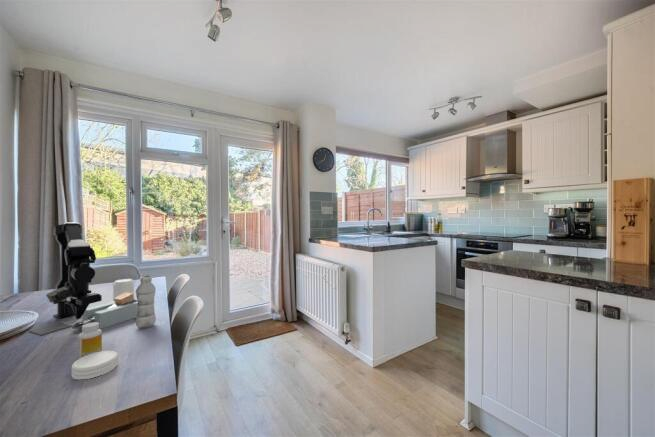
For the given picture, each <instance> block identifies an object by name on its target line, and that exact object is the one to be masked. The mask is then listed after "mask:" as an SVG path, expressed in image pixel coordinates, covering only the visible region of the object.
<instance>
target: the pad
mask: <svg viewBox="0 0 655 437" xmlns="http://www.w3.org/2000/svg"><path fill="white" fill-rule="evenodd" d="M72 326H73V325H72V324H68V323H66V322H62V321H59V322H58V321H57V322H54V323H51V324H48V325H47V324H46V325H45V326H41V327H37V328H33V329H29V330H28V332H30V333H32V334H35V335H38V336H41V337H42V336H45V335H48V334H51V333H52V334H53V333H55V332H59V331H61V330H62V331H63V330H65V329H68V328H72Z"/></svg>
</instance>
